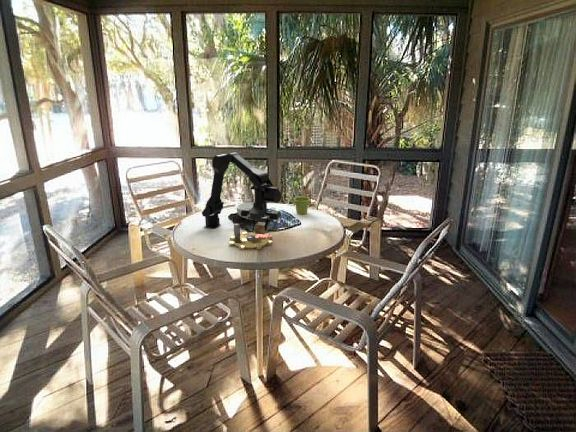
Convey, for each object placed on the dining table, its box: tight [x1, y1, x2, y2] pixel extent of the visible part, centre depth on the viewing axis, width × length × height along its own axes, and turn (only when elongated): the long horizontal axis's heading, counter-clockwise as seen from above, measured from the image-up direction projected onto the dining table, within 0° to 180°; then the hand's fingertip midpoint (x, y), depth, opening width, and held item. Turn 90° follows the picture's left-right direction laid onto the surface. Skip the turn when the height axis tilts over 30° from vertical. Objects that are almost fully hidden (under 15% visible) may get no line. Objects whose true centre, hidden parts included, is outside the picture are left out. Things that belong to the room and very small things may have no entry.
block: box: [254, 221, 268, 235], centre depth 187 cm, size 4×4×4 cm
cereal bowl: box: [236, 201, 263, 221], centre depth 220 cm, size 17×17×7 cm
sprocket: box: [228, 223, 273, 250], centre depth 184 cm, size 21×21×10 cm
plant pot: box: [293, 196, 311, 215], centre depth 227 cm, size 9×9×9 cm
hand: (261, 230), depth 188 cm, fingers closed on block, 4 cm apart
